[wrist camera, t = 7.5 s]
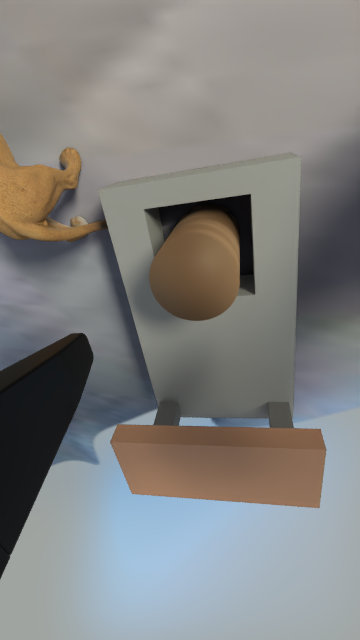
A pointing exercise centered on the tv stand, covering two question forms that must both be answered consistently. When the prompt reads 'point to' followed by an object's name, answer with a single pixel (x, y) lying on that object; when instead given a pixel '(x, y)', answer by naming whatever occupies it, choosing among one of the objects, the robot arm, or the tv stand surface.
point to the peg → (198, 264)
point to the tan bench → (223, 459)
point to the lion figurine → (39, 198)
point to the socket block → (247, 309)
